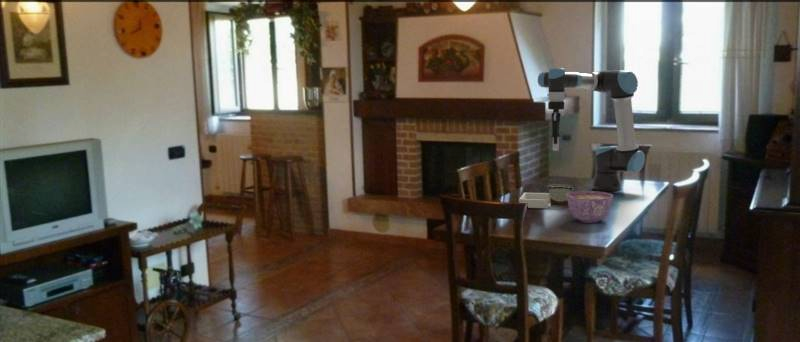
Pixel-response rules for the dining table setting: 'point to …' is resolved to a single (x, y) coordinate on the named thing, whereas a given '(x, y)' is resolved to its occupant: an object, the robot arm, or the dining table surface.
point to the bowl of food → (589, 205)
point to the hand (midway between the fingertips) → (555, 150)
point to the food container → (559, 194)
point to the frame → (535, 200)
